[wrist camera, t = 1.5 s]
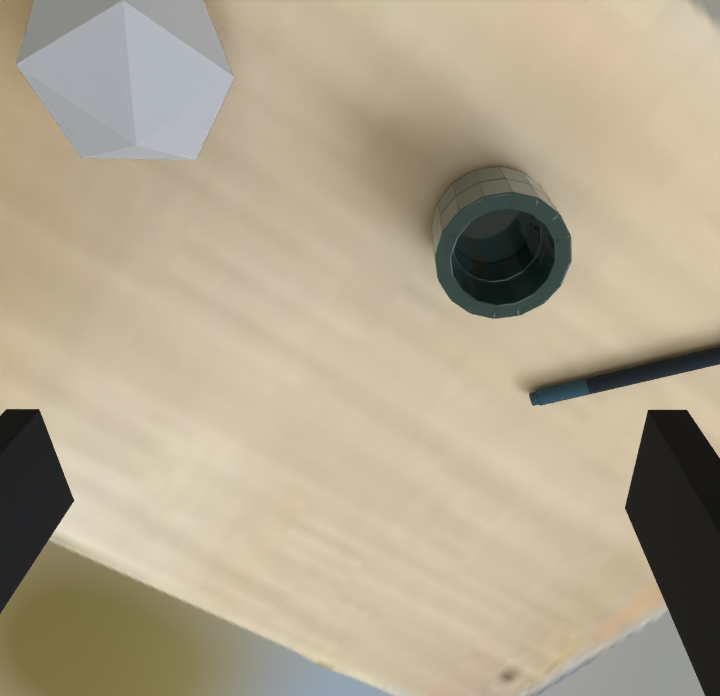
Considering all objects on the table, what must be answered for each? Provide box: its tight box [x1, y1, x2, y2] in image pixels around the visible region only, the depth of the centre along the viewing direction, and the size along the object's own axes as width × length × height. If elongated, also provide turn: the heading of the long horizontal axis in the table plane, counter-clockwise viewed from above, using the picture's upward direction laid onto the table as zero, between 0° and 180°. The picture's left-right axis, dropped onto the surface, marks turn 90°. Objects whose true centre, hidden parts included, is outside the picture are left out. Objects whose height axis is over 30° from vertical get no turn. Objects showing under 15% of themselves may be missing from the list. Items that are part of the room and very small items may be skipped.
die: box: [16, 0, 234, 160], centre depth 27 cm, size 8×9×10 cm
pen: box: [529, 347, 720, 406], centre depth 37 cm, size 1×16×1 cm, turn 109°
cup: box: [432, 166, 572, 319], centre depth 32 cm, size 6×6×6 cm
